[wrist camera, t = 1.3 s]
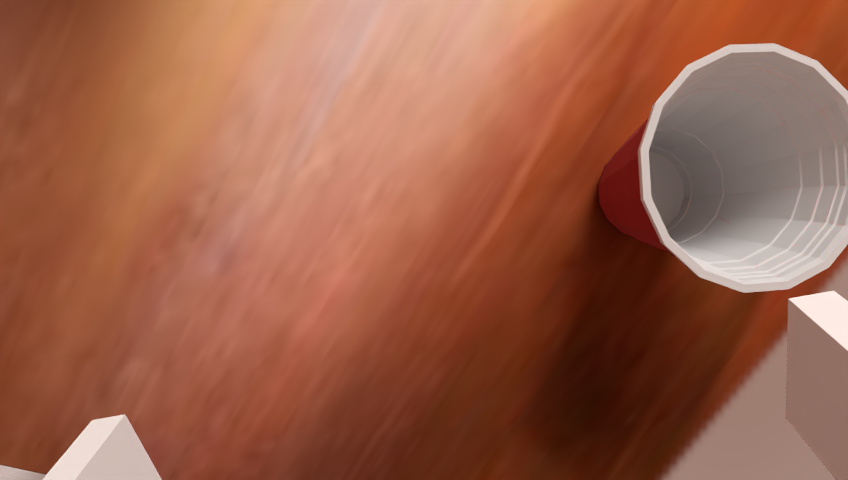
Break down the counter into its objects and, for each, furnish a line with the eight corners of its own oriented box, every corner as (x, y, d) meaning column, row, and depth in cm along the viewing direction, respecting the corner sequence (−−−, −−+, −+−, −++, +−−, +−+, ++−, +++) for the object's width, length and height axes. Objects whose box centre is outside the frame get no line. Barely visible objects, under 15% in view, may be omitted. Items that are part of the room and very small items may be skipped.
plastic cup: (716, 287, 36) (873, 309, 24) (550, 265, 35) (624, 276, 23) (737, 120, 36) (904, 57, 24) (572, 97, 35) (656, 21, 23)
